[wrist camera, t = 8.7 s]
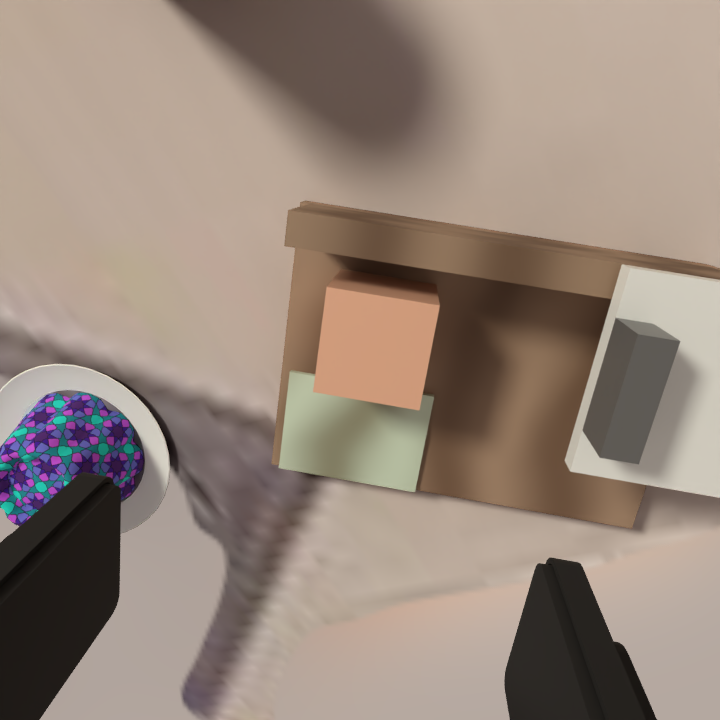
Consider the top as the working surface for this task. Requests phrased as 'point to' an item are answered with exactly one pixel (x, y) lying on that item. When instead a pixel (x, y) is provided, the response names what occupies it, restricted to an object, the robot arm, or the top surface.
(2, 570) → the robot arm
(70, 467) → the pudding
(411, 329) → the terracotta block
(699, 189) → the top surface
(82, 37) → the top surface
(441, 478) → the puzzle board
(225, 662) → the top surface
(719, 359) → the sliding lid
